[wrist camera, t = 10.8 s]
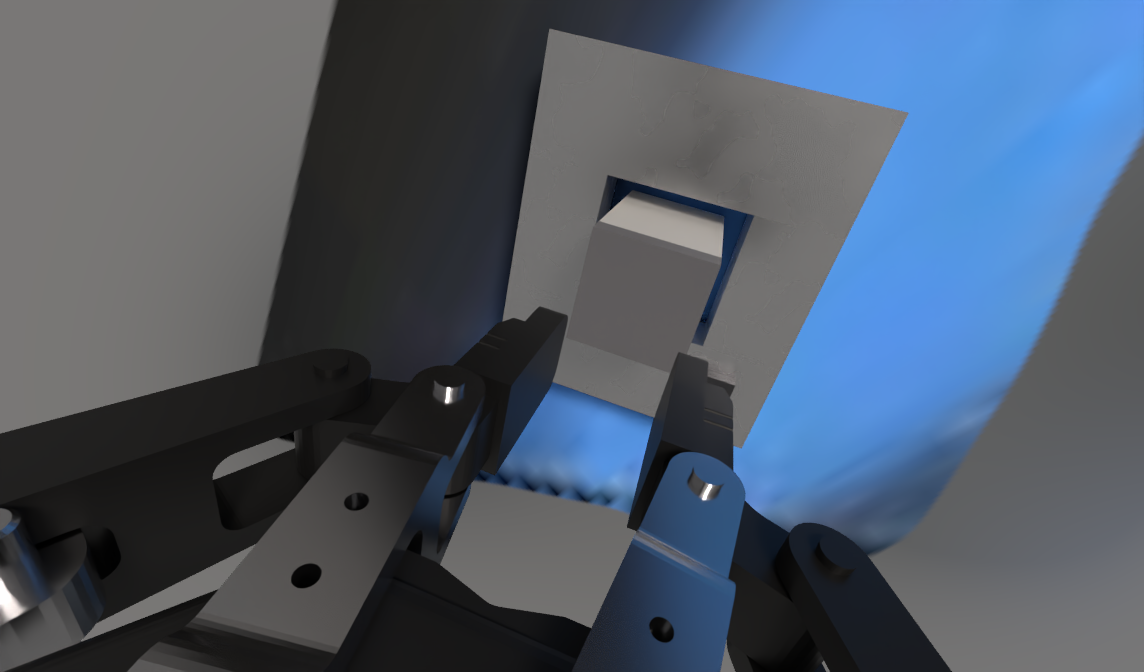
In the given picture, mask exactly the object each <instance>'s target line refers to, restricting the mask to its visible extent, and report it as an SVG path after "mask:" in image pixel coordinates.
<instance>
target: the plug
mask: <svg viewBox="0 0 1144 672" xmlns="http://www.w3.org/2000/svg"><path fill="white" fill-rule="evenodd" d="M723 230H724V216H722V215H718V214H715V213H711V212H708V211H704V210H701V209H697V208H694V207H690V206H687V205H683V204H680V203H676V202H673V201H669V200H666V199H662V198H659V197H655V196H652V195H648V194H645V193H641V192H638V191H634V190H632V191H631V192H630V193H629V194H628V195H627V196H626V197H625V198H624V199H622V200H621V201H620V202H619V203H618V204H617V205H616V206H615V207H614V208H613V209H612V210H611V211H609V212H608V213H607V214H606V215H605V216H604V217H603V218H602V219H601V220H600V221H599V222H597V223H596V224H595V225H594V226H593V229H592V233H591V237H590V241H589V245H588V249H587V253H586V257H585V262H584V266H583V270H582V274H581V278H580V282H579V286H578V290H577V294H576V299H575V303H574V307H573V311H572V315H571V319H570V323H569V327H568V332H567V336H566V338H568V339H571V340H574V341H577V342H580V343H583V344H586V345H589V346H592V347H595V348H598V349H601V350H603V351H606V352H609V353H612V354H615V355H618V356H621V357H624V358H627V359H630V360H633V361H636V362H639V363H642V364H645V365H647V366H650V367H653V368H656V369H659V370H662V371H665V372H668V373H671V370H672V367H673V364H674V362H675V359H676V357H677V354H678V352H681V353H684V354H687V352H688V350H689V347H690V345H691V342H692V339H693V337H694V334H695V332H696V329H697V327H698V324H699V321H700V319H701V316H702V314H703V311H704V308H705V306H706V303H707V301H708V298H709V296H710V293H711V290H712V288H713V285H714V283H715V280H716V278H717V275H718V272H719V270H720V267H721V261H722V246H723Z"/></svg>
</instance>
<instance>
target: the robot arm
mask: <svg viewBox="0 0 1144 672" xmlns="http://www.w3.org/2000/svg"><path fill="white" fill-rule="evenodd" d="M567 322H568V316H567V315H565V314H562V313H559V312H556V311H553V310H550V309H547V308H544V307H541V306H539V307H538V308H537V309H536V310H535V311H534V312H533V313H532V314H531V315H530V316H529V318H528V319H527V320H526V321H522V320H519V319H516V318H511V319H509V320H506V321H503V322H500V323H497V324H496V325H495V326H494V327H493V328H492V329H491V330H490V331H489V332H488V334H487V335H485V336H484V337H483V338H482V339H481V340H480V341H479V343H476V344H475V345H474V346H473V347H472V348H471V349H470V350H469V351H468V352H467V353H466V354H465V355H464V356H463V357H462V358H461V359H460V360H459V361H458V362H457V363H456V364H455V365H453V366H450V365H442V366H434V367H430V368H427V369H425V370H423V371H421V372H419V373H418V374H417V375H416V376H415V377H414V378H413V379H412V381H411V382H410V383H405V382H396V381H388V380H381V379H373V378H371V365H370V363H369V361H368V360H367V359H366V358H365V357H364V356H362V355H360V354H358V353H356V352H353V351H349V350H344V349H322V350H316V351H312V352H308V353H304V354H301V355H297V356H293V357H289V358H285V359H282V360H278V361H274V362H270V363H266V364H263V365H259V366H255V367H251V368H248V369H244V370H240V371H236V372H233V373H229V374H225V375H221V376H217V377H213V378H210V379H206V380H202V381H199V382H194V383H191V384H187V385H183V386H179V387H175V388H172V389H168V390H164V391H160V392H156V393H153V394H149V395H145V396H141V397H138V398H134V399H130V400H126V401H122V402H119V403H115V404H111V405H107V406H103V407H100V408H96V409H92V410H88V411H84V412H81V413H77V414H73V415H69V416H66V417H62V418H58V419H54V420H50V421H46V422H43V423H39V424H35V425H31V426H28V427H24V428H20V429H16V430H13V431H9V432H5V433H1V434H0V672H720V670H721V665H722V660H723V655H724V649H725V644H726V639H727V648H728V652H729V655H730V658H731V661H732V664H733V666H734V669H735V671H736V672H826V671H825V669H824V667H823V665H822V662H823V661H825V663H826V665H827V667H828V669H829V670H830V672H952V671H951V670H950V669H949V667H948V666H947V664H946V663H945V662H944V660H943V659H942V658H941V656H940V655H939V653H938V652H937V651H936V649H935V648H934V647H933V645H932V644H931V642H930V641H929V640H928V638H927V637H926V636H925V634H924V633H923V631H922V630H921V629H920V627H919V626H918V624H917V623H916V622H915V621H914V619H913V618H912V616H911V615H910V613H909V612H908V611H907V609H906V608H905V607H904V605H903V604H902V602H901V601H900V600H899V598H898V597H897V596H896V594H895V593H894V591H893V590H892V589H891V587H890V586H889V585H888V583H887V582H886V580H885V579H884V578H883V576H882V575H881V574H880V572H879V571H878V569H877V568H876V567H875V565H874V564H873V562H872V561H871V560H870V558H869V557H868V556H867V555H866V553H865V552H864V551H863V550H862V549H861V548H860V547H859V546H857V545H856V544H855V543H854V542H853V541H852V540H850V539H849V538H847V537H846V536H844V535H843V534H841V533H840V532H838V531H836V530H834V529H832V528H829V527H827V526H824V525H820V524H816V523H802V524H798V525H797V526H795V527H794V528H793V529H792V530H791V532H790V533H789V532H787V531H785V530H784V529H782V528H781V527H779V526H778V525H776V524H774V523H773V522H771V521H770V520H768V519H766V518H765V517H763V516H762V515H761V514H759V513H758V512H757V511H755V510H754V509H753V508H752V507H751V506H750V505H749V504H748V503H747V502H746V501H745V489H744V486H743V484H742V482H741V480H740V478H739V477H738V476H737V475H736V473H735V472H734V471H733V432H732V431H733V420H732V419H733V402H732V401H731V399H730V397H729V396H728V394H727V392H726V390H725V389H724V388H722V387H719V386H716V385H713V384H710V383H707V375H708V364H709V362H708V361H705V360H702V359H699V358H696V357H693V356H690V355H687V354H684V353H681V352H678V354H677V357H676V359H675V362H674V364H673V367H672V370H671V373H670V375H669V378H668V381H667V383H666V386H665V389H664V391H663V394H662V397H661V400H660V402H659V405H658V408H657V411H656V414H655V417H654V420H653V424H652V427H651V431H650V435H649V439H648V443H647V447H646V451H645V455H644V459H643V464H642V468H641V472H640V476H639V480H638V484H637V488H636V492H635V496H634V500H633V504H632V508H631V512H630V516H629V520H628V524H627V528H630V529H633V530H635V531H636V534H635V535H634V538H633V540H632V542H631V544H630V546H629V548H628V550H627V553H626V555H625V557H624V559H623V561H622V564H621V566H620V568H619V570H618V572H617V575H616V577H615V579H614V581H613V583H612V585H611V587H610V589H609V592H608V594H607V596H606V598H605V600H604V603H603V605H602V607H601V609H600V611H599V613H598V615H597V618H596V620H595V622H594V624H593V626H592V628H589V627H586V626H584V625H582V624H580V623H577V622H575V621H573V620H570V619H568V618H566V617H560V616H554V615H548V614H542V613H536V612H529V611H523V610H516V609H510V608H503V607H498V606H494V605H491V604H489V603H487V602H486V601H485V600H483V599H482V598H481V597H480V596H478V595H477V594H476V593H475V592H473V591H472V590H471V589H470V588H468V587H467V586H466V585H465V584H463V583H462V582H461V581H459V580H458V579H457V578H456V577H454V576H453V575H452V574H451V573H450V572H448V571H447V570H446V569H444V568H443V567H442V566H441V565H440V563H441V561H442V559H443V556H444V554H445V551H446V549H447V547H448V544H449V542H450V540H451V537H452V535H453V532H454V530H455V527H456V525H457V523H458V520H459V518H460V516H461V513H462V510H463V509H464V506H465V504H466V501H467V499H468V497H469V494H470V489H471V483H472V482H473V480H474V479H475V477H476V476H477V475H478V473H479V472H480V470H483V471H485V472H488V473H490V474H493V475H495V474H496V473H497V471H498V470H499V468H500V466H501V465H502V463H503V462H504V460H505V459H506V457H507V455H508V454H509V452H510V451H511V449H512V447H513V446H514V444H515V443H516V441H517V440H518V438H519V436H520V435H521V433H522V432H523V430H524V428H525V427H526V425H527V424H528V422H529V421H530V419H531V417H532V416H533V414H534V413H535V411H536V409H537V408H538V406H539V405H540V403H541V401H542V400H543V398H544V397H545V395H546V394H547V392H548V390H549V388H550V386H551V384H552V381H553V379H554V376H555V373H556V370H557V365H558V361H559V357H560V353H561V348H562V344H563V340H564V336H565V331H566V327H567ZM291 432H294V438H295V448H294V449H292V450H289V451H287V452H284V453H282V454H279V455H277V456H274V457H272V458H269V459H266V460H264V461H262V462H259V463H256V464H254V465H251V466H249V467H246V468H244V469H241V470H238V471H236V472H234V473H231V474H228V475H226V476H223V477H221V478H218V479H215V480H213V478H212V477H213V473H214V470H215V469H216V467H217V466H218V465H219V464H220V463H221V462H222V461H223V460H224V459H225V458H227V457H228V456H230V455H232V454H234V453H237V452H239V451H242V450H245V449H247V448H250V447H253V446H256V445H258V444H261V443H264V442H266V441H269V440H272V439H275V438H277V437H280V436H283V435H285V434H288V433H291ZM256 543H257V544H256ZM254 544H256V545H255V546H254V547H253V549H252V550H251V551H250V552H249V553H248V555H247V556H246V557H245V558H244V560H243V561H242V562H241V563H240V564H239V565H238V567H237V568H236V569H235V570H234V571H233V573H232V574H231V575H230V576H229V577H228V579H227V580H226V581H225V582H224V584H223V585H222V586H221V587H220V588H219V589H218V590H215V591H213V592H210V593H207V594H205V595H202V596H199V597H197V598H195V599H192V600H189V601H187V602H184V603H181V604H179V605H176V606H174V607H171V608H169V609H166V610H163V611H161V612H158V613H155V614H153V615H150V616H148V617H145V618H143V619H140V620H137V621H135V622H132V623H129V624H127V625H124V626H122V627H119V628H116V629H114V630H111V631H109V632H106V633H104V634H101V635H98V636H96V637H93V638H90V639H88V640H85V641H83V642H81V640H82V639H83V638H84V637H85V636H86V635H87V634H88V633H89V632H90V631H91V630H92V628H93V627H94V626H95V624H96V623H98V622H99V621H102V620H104V619H106V618H108V617H110V616H112V615H114V614H116V613H118V612H120V611H122V610H124V609H126V608H128V607H130V606H132V605H134V604H136V603H138V602H140V601H142V600H144V599H146V598H148V597H150V596H152V595H154V594H156V593H158V592H160V591H162V590H164V589H166V588H168V587H170V586H172V585H174V584H176V583H178V582H180V581H182V580H184V579H186V578H188V577H190V576H192V575H194V574H196V573H198V572H200V571H202V570H204V569H206V568H208V567H210V566H212V565H214V564H216V563H218V562H220V561H222V560H224V559H226V558H228V557H230V556H232V555H234V554H236V553H238V552H240V551H242V550H244V549H246V548H248V547H250V546H252V545H254Z"/></svg>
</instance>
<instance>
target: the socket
mask: <svg viewBox="0 0 1144 672" xmlns="http://www.w3.org/2000/svg"><path fill="white" fill-rule="evenodd" d="M907 115H908V113H907V112H903V111H899V110H894V109H890V108H886V107H881V106H877V105H873V104H869V103H864V102H860V101H856V100H852V99H847V98H843V97H839V96H834V95H830V94H826V93H822V92H817V91H813V90H809V89H805V88H800V87H796V86H792V85H787V84H783V83H779V82H775V81H770V80H766V79H762V78H758V77H753V76H749V75H745V74H740V73H736V72H732V71H728V70H723V69H719V68H715V67H711V66H706V65H702V64H698V63H693V62H689V61H685V60H681V59H676V58H672V57H668V56H664V55H659V54H655V53H651V52H646V51H642V50H638V49H634V48H629V47H625V46H621V45H616V44H612V43H608V42H604V41H599V40H595V39H591V38H587V37H582V36H578V35H574V34H569V33H565V32H561V31H557V30H552V29H549V35H548V41H547V48H546V54H545V60H544V66H543V72H542V79H541V85H540V91H539V97H538V104H537V110H536V116H535V122H534V128H533V135H532V141H531V147H530V153H529V159H528V166H527V172H526V178H525V184H524V191H523V197H522V203H521V209H520V215H519V222H518V228H517V234H516V240H515V246H514V253H513V259H512V265H511V271H510V278H509V284H508V290H507V296H506V302H505V309H504V315H503V321H506V320H509V319H511V318H516V319H519V320H522V321H526V320H527V319H528V318H529V316H530V315H531V314H532V313H533V312H534V311H535V310H536V309H537V308H538V307H539V306H541V307H544V308H547V309H550V310H553V311H556V312H559V313H562V314H565V315H567V316H568V322H567V327H566V331H565V336H564V340H563V344H562V348H561V353H560V357H559V361H558V365H557V370H556V373H555V376H554V379H553V381H552V382H554V383H557V384H560V385H563V386H566V387H568V388H571V389H574V390H577V391H580V392H583V393H585V394H588V395H591V396H594V397H597V398H600V399H603V400H605V401H608V402H611V403H614V404H617V405H620V406H622V407H625V408H628V409H631V410H634V411H637V412H639V413H642V414H645V415H648V416H651V417H655V414H656V411H657V408H658V405H659V402H660V400H661V397H662V394H663V391H664V389H665V386H666V383H667V381H668V378H669V375H670V373H668V372H665V371H662V370H659V369H656V368H653V367H650V366H647V365H645V364H642V363H639V362H636V361H633V360H630V359H627V358H624V357H621V356H618V355H615V354H612V353H609V352H606V351H603V350H601V349H598V348H595V347H592V346H589V345H586V344H583V343H580V342H577V341H574V340H571V339H568V338H566V336H567V332H568V327H569V323H570V319H571V315H572V311H573V307H574V303H575V299H576V294H577V290H578V286H579V282H580V278H581V274H582V270H583V266H584V262H585V257H586V253H587V249H588V245H589V241H590V237H591V233H592V229H593V226H594V225H595V224H596V223H597V222H599V221H600V220H601V219H602V218H603V217H604V216H605V215H606V214H607V213H608V212H609V211H610V207H611V203H612V199H613V195H614V191H615V187H616V183H617V179H618V178H621V179H624V180H628V181H632V182H635V183H639V184H642V185H646V186H650V187H653V188H657V189H660V190H664V191H668V192H671V193H675V194H678V195H682V196H686V197H689V198H693V199H696V200H700V201H704V202H707V203H711V204H714V205H718V206H722V207H725V208H729V209H732V210H736V211H740V212H743V213H747V214H748V215H747V217H746V220H745V222H744V225H743V228H742V230H741V233H740V235H739V238H738V240H737V243H736V246H735V248H734V251H733V253H732V256H731V259H730V261H729V264H728V266H727V269H726V271H725V274H724V277H723V279H722V282H721V284H720V287H719V289H718V292H717V295H716V297H715V300H714V302H713V305H712V307H711V310H710V313H709V315H708V318H707V320H706V323H705V322H702V321H699V324H698V327H697V329H696V332H695V334H694V337H693V339H692V342H691V345H690V347H689V350H688V352H687V355H690V356H693V357H696V358H699V359H702V360H705V361H708V362H709V364H708V375H707V383H710V384H713V385H716V386H719V387H722V388H724V389H725V390H726V392H727V394H728V396H729V397H730V399H731V401H732V402H733V419H732V420H733V431H732V432H733V446H736V447H739V448H742V446H743V444H744V442H745V440H746V438H747V436H748V434H749V432H750V430H751V428H752V426H753V424H754V422H755V420H756V418H757V416H758V414H759V412H760V410H761V408H762V406H763V404H764V402H765V400H766V398H767V396H768V394H769V392H770V390H771V388H772V386H773V384H774V382H775V380H776V378H777V376H778V374H779V372H780V370H781V368H782V366H783V364H784V362H785V360H786V358H787V356H788V354H789V352H790V350H791V348H792V346H793V344H794V342H795V340H796V338H797V336H798V334H799V332H800V330H801V328H802V326H803V324H804V322H805V320H806V318H807V316H808V314H809V312H810V310H811V308H812V306H813V304H814V302H815V300H816V298H817V296H818V294H819V292H820V290H821V288H822V286H823V284H824V282H825V280H826V278H827V276H828V274H829V272H830V270H831V268H832V266H833V264H834V262H835V260H836V258H837V256H838V254H839V252H840V250H841V248H842V246H843V244H844V242H845V240H846V238H847V236H848V234H849V232H850V230H851V228H852V226H853V224H854V222H855V220H856V218H857V216H858V214H859V212H860V210H861V208H862V206H863V203H864V201H865V199H866V197H867V195H868V193H869V191H870V189H871V187H872V185H873V183H874V181H875V179H876V177H877V175H878V173H879V171H880V169H881V167H882V165H883V163H884V161H885V159H886V157H887V155H888V153H889V151H890V149H891V147H892V145H893V143H894V141H895V139H896V137H897V135H898V133H899V131H900V129H901V127H902V125H903V123H904V121H905V119H906V117H907ZM503 321H502V322H503Z"/></svg>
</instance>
